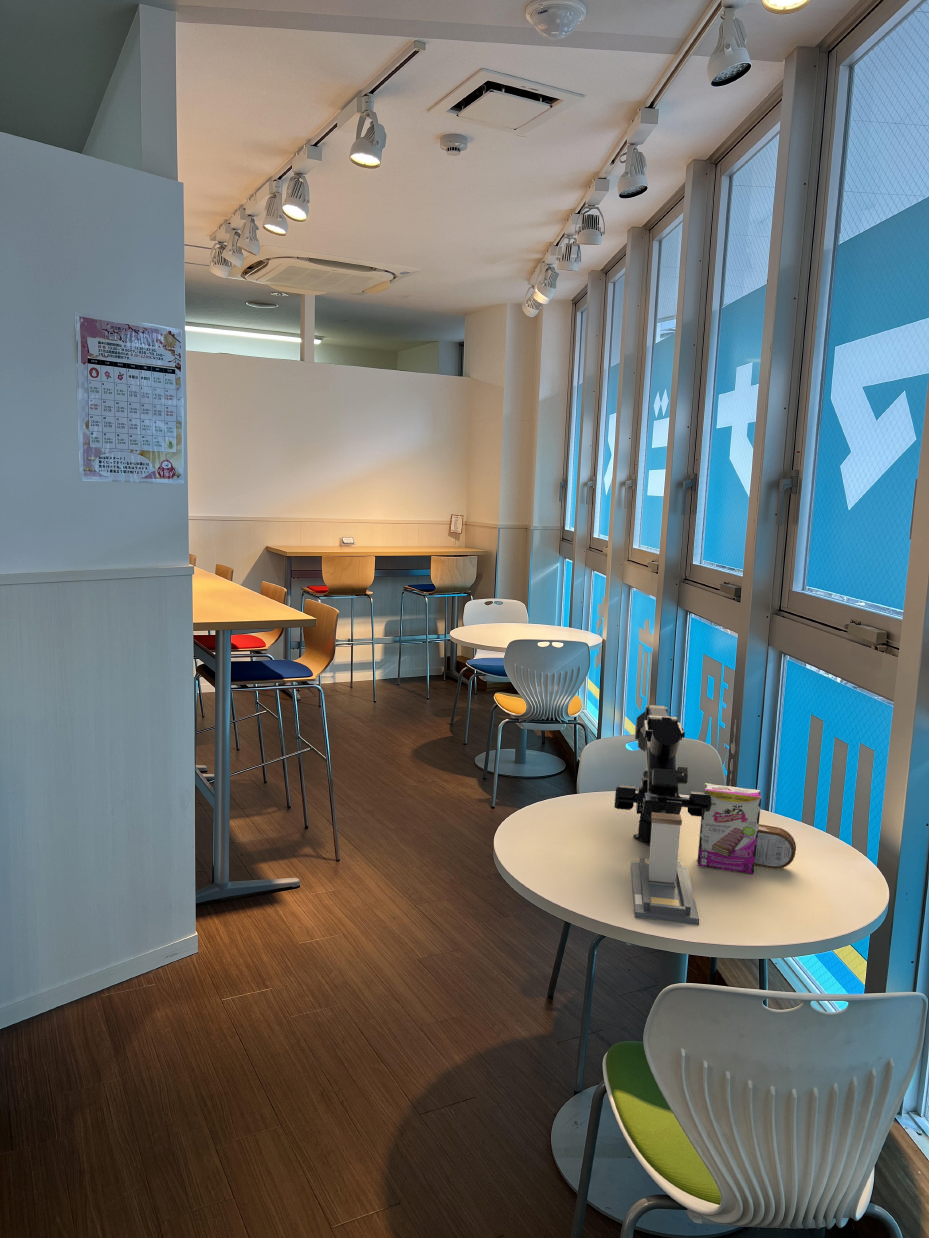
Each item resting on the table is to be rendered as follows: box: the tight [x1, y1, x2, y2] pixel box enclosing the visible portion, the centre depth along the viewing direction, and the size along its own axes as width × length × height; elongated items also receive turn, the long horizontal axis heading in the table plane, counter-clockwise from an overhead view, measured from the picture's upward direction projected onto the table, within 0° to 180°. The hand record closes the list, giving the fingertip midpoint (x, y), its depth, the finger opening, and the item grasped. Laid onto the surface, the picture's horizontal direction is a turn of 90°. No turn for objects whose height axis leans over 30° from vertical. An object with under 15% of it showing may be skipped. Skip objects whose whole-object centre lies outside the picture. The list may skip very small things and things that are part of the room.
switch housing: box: [630, 857, 700, 925], centre depth 160 cm, size 22×11×2 cm, turn 171°
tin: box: [755, 823, 797, 870], centre depth 175 cm, size 15×3×8 cm, turn 69°
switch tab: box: [648, 812, 683, 883], centre depth 162 cm, size 3×5×12 cm, turn 81°
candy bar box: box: [697, 783, 762, 875], centre depth 173 cm, size 11×5×16 cm, turn 75°
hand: (661, 840), depth 168 cm, fingers closed
